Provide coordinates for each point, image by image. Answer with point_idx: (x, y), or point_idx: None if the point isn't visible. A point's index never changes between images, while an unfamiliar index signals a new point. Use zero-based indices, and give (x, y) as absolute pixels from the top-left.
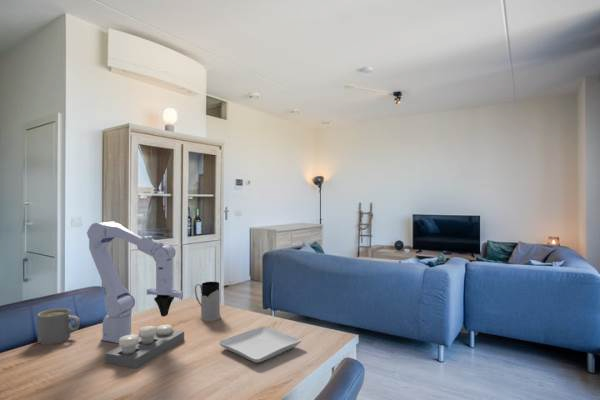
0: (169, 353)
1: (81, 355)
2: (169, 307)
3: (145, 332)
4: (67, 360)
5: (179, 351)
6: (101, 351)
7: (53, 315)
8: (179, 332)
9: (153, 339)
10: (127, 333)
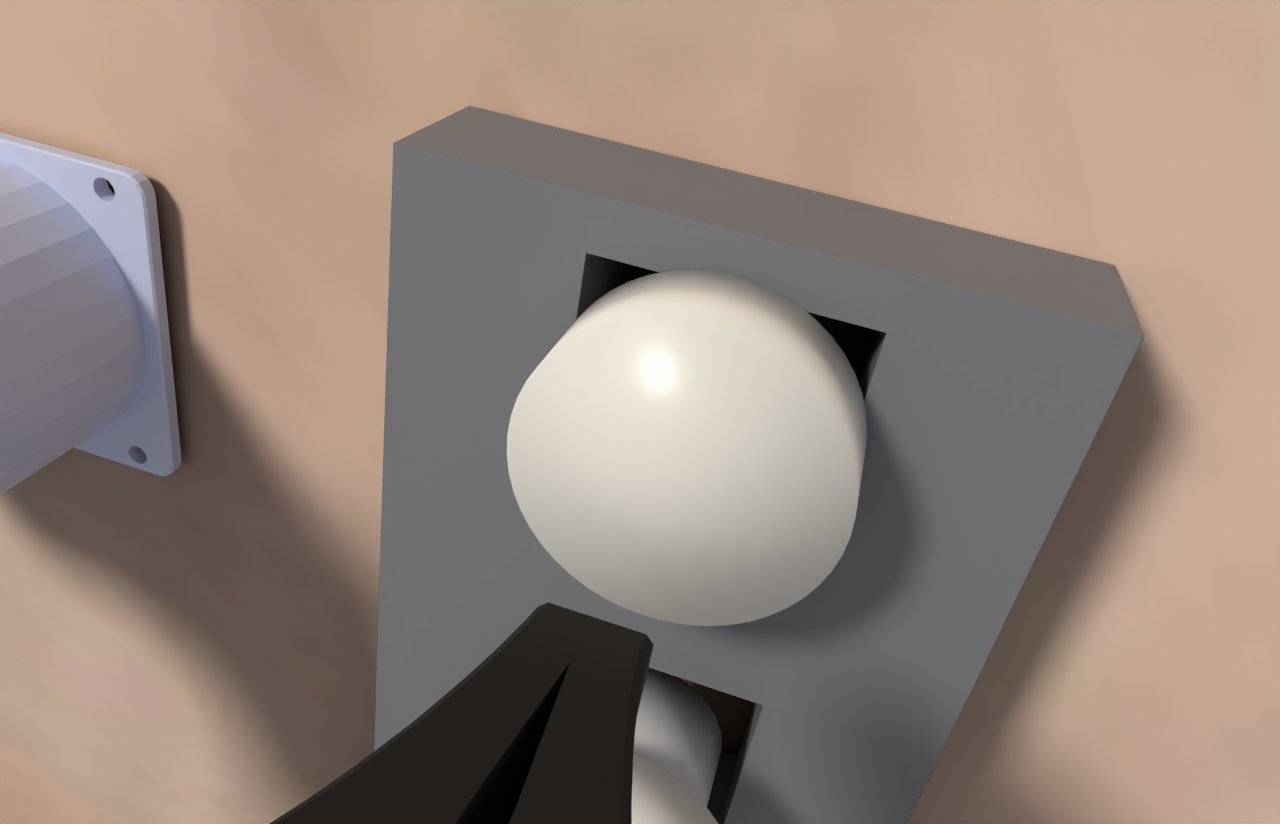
0: (1025, 757)
1: (86, 711)
2: (630, 821)
3: None
4: (77, 785)
5: (1170, 715)
6: (171, 645)
7: None
8: (1035, 393)
9: (708, 787)
10: (86, 384)
